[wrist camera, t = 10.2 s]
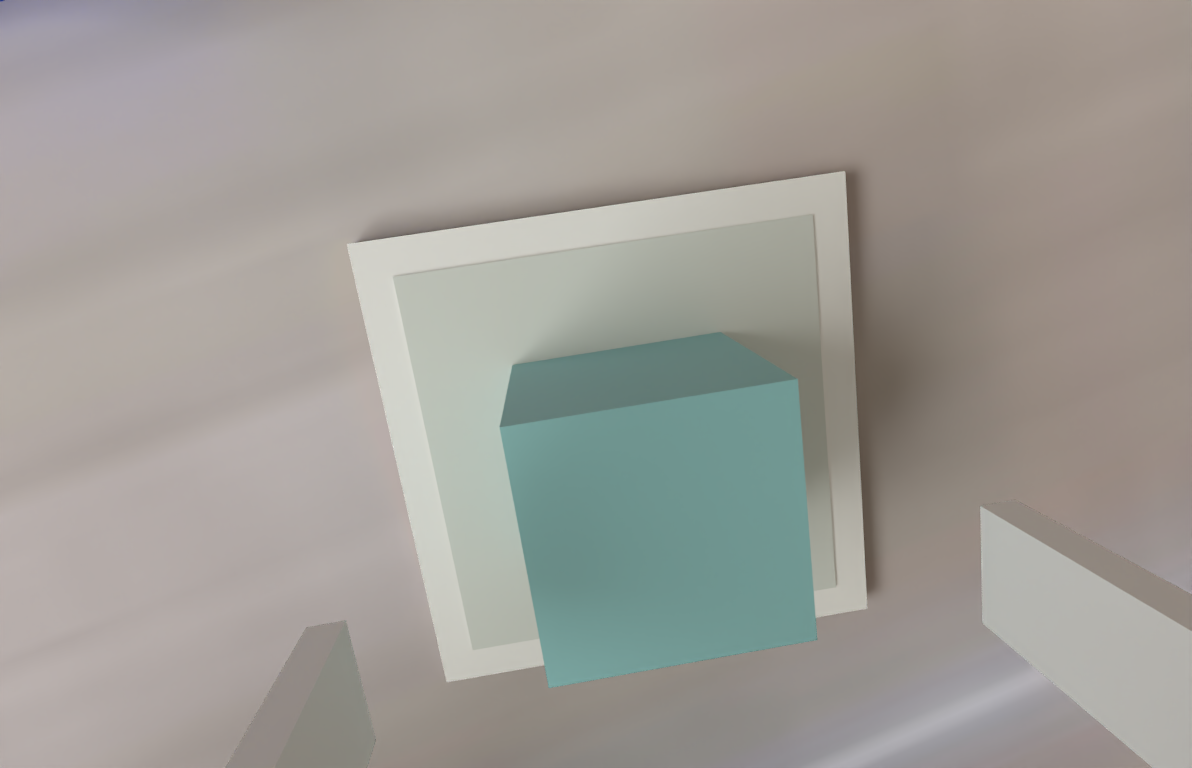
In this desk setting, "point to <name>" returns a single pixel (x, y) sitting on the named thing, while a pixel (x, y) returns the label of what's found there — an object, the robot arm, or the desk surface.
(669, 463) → the cube
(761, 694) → the desk surface
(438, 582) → the white square tray
